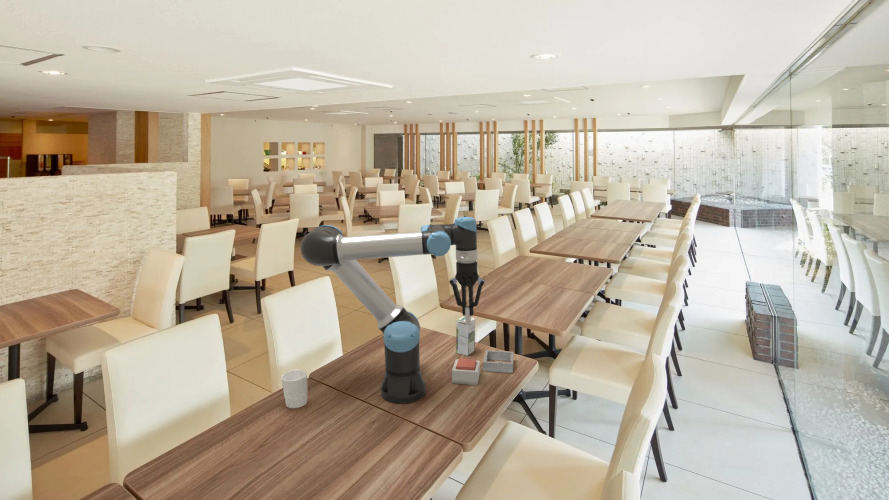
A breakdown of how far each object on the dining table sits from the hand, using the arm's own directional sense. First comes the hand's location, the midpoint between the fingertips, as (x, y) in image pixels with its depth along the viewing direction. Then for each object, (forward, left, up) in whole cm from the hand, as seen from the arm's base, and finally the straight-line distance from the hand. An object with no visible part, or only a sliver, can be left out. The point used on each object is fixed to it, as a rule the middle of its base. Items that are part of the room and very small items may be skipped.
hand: (468, 323), depth 166 cm
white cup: (-53, -30, -19) cm, 64 cm away
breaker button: (0, -5, -18) cm, 19 cm away
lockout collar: (+11, +7, -19) cm, 23 cm away
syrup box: (-3, +17, -19) cm, 26 cm away
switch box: (0, -5, -19) cm, 20 cm away
